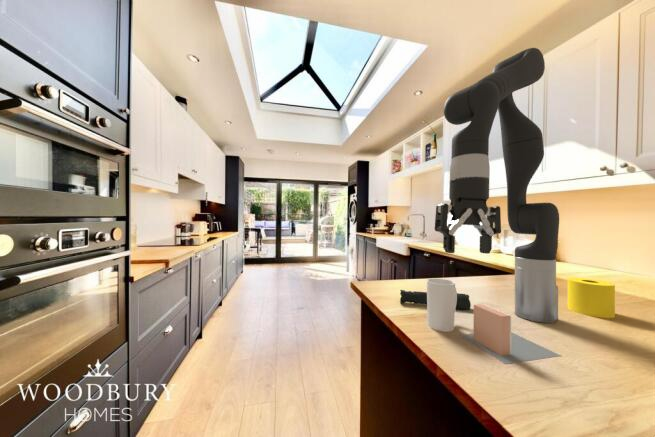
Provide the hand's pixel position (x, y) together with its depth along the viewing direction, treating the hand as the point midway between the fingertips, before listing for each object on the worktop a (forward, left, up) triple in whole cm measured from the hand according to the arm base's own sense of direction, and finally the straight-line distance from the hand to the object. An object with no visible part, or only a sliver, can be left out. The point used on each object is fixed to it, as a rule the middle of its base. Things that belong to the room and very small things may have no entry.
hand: (467, 253), depth 53 cm
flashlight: (-10, -25, -21) cm, 35 cm away
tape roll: (-56, -11, -21) cm, 61 cm away
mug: (-3, -11, -21) cm, 24 cm away
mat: (-10, +1, -21) cm, 23 cm away
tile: (-6, +1, -21) cm, 21 cm away
